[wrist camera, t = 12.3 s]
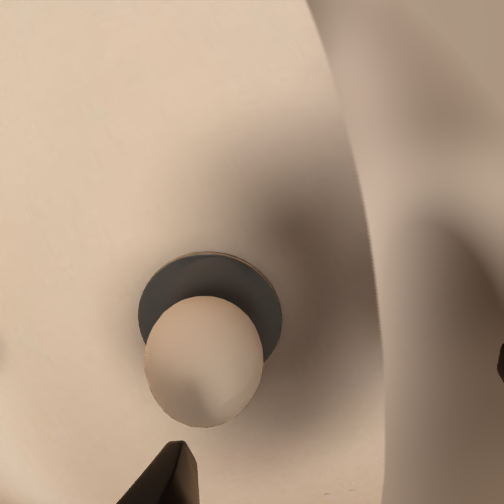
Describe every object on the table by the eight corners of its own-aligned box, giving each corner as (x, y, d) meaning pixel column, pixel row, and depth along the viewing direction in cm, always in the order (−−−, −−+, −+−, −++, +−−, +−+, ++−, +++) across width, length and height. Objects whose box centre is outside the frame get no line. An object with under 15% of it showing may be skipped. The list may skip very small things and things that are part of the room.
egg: (160, 273, 16) (115, 342, 9) (261, 280, 17) (281, 356, 10) (163, 359, 18) (133, 450, 11) (253, 365, 18) (264, 460, 11)
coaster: (189, 221, 16) (188, 222, 16) (309, 305, 18) (311, 309, 17) (117, 331, 18) (115, 335, 17) (227, 397, 19) (227, 402, 19)
